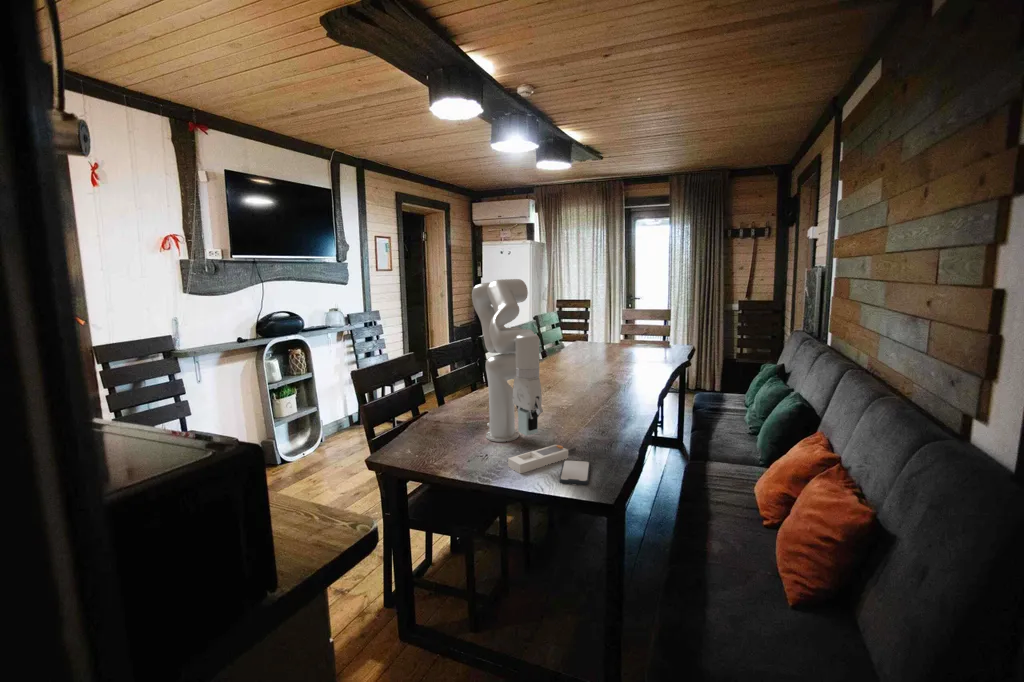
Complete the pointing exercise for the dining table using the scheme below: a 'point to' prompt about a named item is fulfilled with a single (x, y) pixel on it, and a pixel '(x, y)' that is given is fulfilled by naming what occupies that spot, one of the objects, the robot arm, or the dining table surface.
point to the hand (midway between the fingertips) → (527, 426)
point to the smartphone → (575, 472)
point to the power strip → (538, 458)
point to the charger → (525, 422)
